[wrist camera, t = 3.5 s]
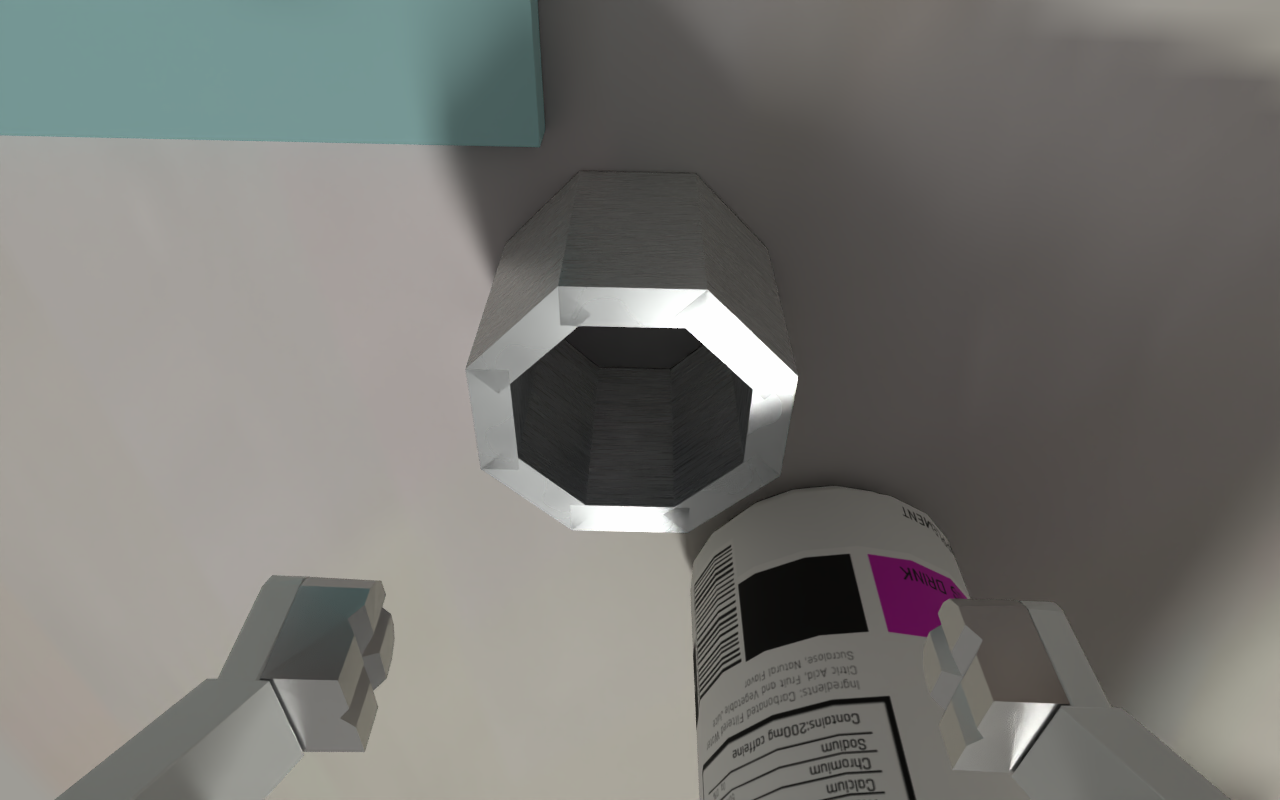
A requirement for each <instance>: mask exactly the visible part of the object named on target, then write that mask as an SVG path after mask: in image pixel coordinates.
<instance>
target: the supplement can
mask: <svg viewBox="0 0 1280 800" xmlns="http://www.w3.org/2000/svg"><path fill="white" fill-rule="evenodd" d="M690 591H691V614H692V637H693V660H694V683H695V706H696V729H697V752H698V775H699V798H700V800H1031V799H1030V798H1029V796H1028V795H1027V794H1026V793H1025V792H1024V790H1023V789H1022V788H1021V787H1020V786H1019V785H1018V783H1017V782H1016V781H1015V780H1014V779H1013V778H1012V775H1013V773H999V772H982V771H965V770H952V767H951V764H950V760H949V757H948V754H947V751H946V747H945V744H944V741H943V738H942V734H941V731H940V728H939V722H940V720H941V718H942V716H943V713H944V711H945V710H944V709H943V708H942V707H941V706H940V705H939V704H938V703H937V702H936V701H935V700H934V699H933V698H932V697H931V696H930V695H929V691H928V688H927V684H926V681H925V676H924V669H923V652H924V644H925V642H926V639H927V637H928V634H929V632H930V631H932V630H933V629H935V628H936V627H938V626H940V625H941V621H940V618H939V615H938V612H939V610H940V608H941V606H942V604H943V602H945V601H946V600H948V599H970V596H969V593H968V591H967V588H966V586H965V583H964V580H963V578H962V575H961V573H960V570H959V567H958V565H957V562H956V560H955V557H954V554H953V552H952V549H951V547H950V544H949V541H948V539H947V538H946V537H945V536H944V534H943V533H942V532H941V531H940V530H939V528H938V527H937V526H936V525H935V523H934V522H933V521H932V520H931V519H930V517H929V516H928V515H927V514H926V513H924V512H922V511H920V510H918V509H916V508H914V507H912V506H910V505H908V504H906V503H904V502H902V501H900V500H898V499H896V498H894V497H892V496H888V495H882V494H877V493H875V492H872V491H866V490H859V489H853V488H847V487H840V486H826V487H815V488H804V489H794V490H791V491H788V492H785V493H782V494H779V495H776V496H774V497H771V498H768V499H765V500H762V501H759V502H757V503H755V504H753V505H752V506H750V507H749V508H748V509H746V510H745V511H743V512H742V513H740V514H739V515H738V516H736V517H735V518H733V519H732V520H731V521H729V522H728V523H726V524H725V525H724V526H722V527H721V528H719V529H718V530H716V531H715V532H714V533H712V535H711V536H710V538H709V539H708V541H707V542H706V544H705V545H704V547H703V548H702V550H701V551H700V553H699V554H698V556H697V557H696V559H695V560H694V562H693V571H692V580H691V590H690Z"/></svg>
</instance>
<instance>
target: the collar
mask: <svg viewBox="0 0 1280 800" xmlns="http://www.w3.org/2000/svg"><path fill="white" fill-rule="evenodd" d="M578 326H606V327H650V328H686V329H687V330H688V331H689V332H690V333H691V334H693V335H694V336H695V337H696V338H697V339H698V340H699V341H700V342H701V343H702V344H704V345H702V346H701V347H700V348H698V349H697V350H696V351H694V352H693V353H692V354H690V355H689V356H688V357H686V358H685V359H684V360H682V361H681V362H680V363H678V364H677V365H676V366H674V367H673V368H672V369H641V368H599V367H598V366H596V365H595V364H594V363H593V362H591V361H590V360H589V359H588V358H587V357H585V356H584V355H583V354H582V353H580V352H579V351H578V350H577V349H576V348H574V347H573V346H572V345H571V344H569V343H568V342H567V341H566V340H565V339H564V338H565V337H566V336H567V335H569V334H570V333H571V332H572V331H573V330H575V329H576V328H577V327H578ZM465 370H466V377H467V383H468V390H469V396H470V403H471V409H472V416H473V422H474V429H475V435H476V442H477V448H478V455H479V461H480V468H481V469H482V470H483V471H485V472H486V473H488V474H489V475H490V476H492V477H493V478H495V479H496V480H498V481H499V482H501V483H502V484H504V485H505V486H507V487H508V488H510V489H511V490H513V491H514V492H516V493H517V494H519V495H520V496H522V497H523V498H525V499H526V500H528V501H529V502H531V503H532V504H534V505H535V506H537V507H538V508H540V509H541V510H543V511H544V512H546V513H547V514H548V515H550V516H551V517H553V518H554V519H556V520H557V521H559V522H560V523H562V524H563V525H565V526H566V527H568V528H569V529H571V530H586V531H630V532H673V533H688V532H690V531H691V530H693V529H695V528H696V527H698V526H700V525H701V524H703V523H704V522H706V521H708V520H709V519H711V518H713V517H714V516H716V515H717V514H719V513H721V512H722V511H724V510H726V509H727V508H729V507H730V506H732V505H734V504H735V503H737V502H738V501H740V500H742V499H743V498H745V497H747V496H748V495H750V494H751V493H753V492H755V491H756V490H758V489H760V488H761V487H763V486H764V485H766V484H768V483H769V482H771V481H773V480H774V479H776V478H777V477H779V476H780V475H781V469H782V464H783V458H784V452H785V447H786V441H787V436H788V430H789V425H790V419H791V414H792V408H793V403H794V397H795V391H796V386H797V380H798V374H797V370H796V365H795V361H794V357H793V353H792V349H791V344H790V340H789V336H788V332H787V328H786V323H785V319H784V315H783V311H782V307H781V302H780V298H779V294H778V290H777V286H776V281H775V277H774V273H773V269H772V265H771V260H770V256H769V252H768V249H767V248H766V247H765V246H764V245H763V244H762V243H761V242H760V240H759V239H758V238H757V237H756V236H755V235H754V234H753V233H752V232H751V231H750V230H749V229H748V228H747V227H746V226H745V225H744V224H743V223H742V222H741V221H740V219H739V218H738V217H737V216H736V215H735V214H734V213H733V212H732V211H731V210H730V209H729V208H728V207H727V206H726V205H725V204H724V203H723V202H722V201H721V200H720V199H719V197H718V196H717V195H716V194H715V193H714V192H713V191H712V190H711V189H710V188H709V187H708V186H707V185H706V184H705V183H704V182H703V181H702V180H701V179H700V178H699V176H698V175H697V174H693V173H647V172H602V171H579V172H578V173H577V174H576V175H575V176H574V177H573V178H572V179H571V180H570V181H569V182H568V183H567V184H566V185H565V186H564V187H563V188H562V189H561V190H560V191H559V192H558V193H557V194H556V195H555V196H554V197H553V198H552V199H551V200H550V201H549V202H548V203H547V204H546V205H545V206H544V207H542V208H541V209H540V210H539V211H538V212H537V213H536V214H535V215H534V216H533V217H532V218H531V219H530V220H529V221H528V222H527V223H526V224H525V225H524V226H523V227H522V228H521V229H520V230H519V231H518V232H517V233H516V234H515V235H514V236H513V237H512V238H511V239H510V240H509V241H508V242H507V243H506V244H505V247H504V250H503V253H502V256H501V259H500V262H499V266H498V269H497V272H496V275H495V278H494V281H493V284H492V287H491V291H490V294H489V297H488V300H487V303H486V306H485V309H484V312H483V316H482V319H481V322H480V325H479V328H478V331H477V334H476V337H475V340H474V344H473V347H472V350H471V353H470V356H469V359H468V362H467V365H466V369H465Z"/></svg>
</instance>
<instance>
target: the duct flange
mask: <svg viewBox="0 0 1280 800" xmlns="http://www.w3.org/2000/svg"><path fill="white" fill-rule="evenodd" d="M544 132H545V117H544V100H543V83H542V67H541V50H540V33H539V16H538V0H0V135H10V136H56V137H101V138H146V139H191V140H237V141H282V142H327V143H372V144H418V145H463V146H508V147H540V145H541V142H542V139H543V136H544Z"/></svg>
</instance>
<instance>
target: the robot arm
mask: <svg viewBox="0 0 1280 800" xmlns="http://www.w3.org/2000/svg"><path fill="white" fill-rule="evenodd" d="M385 596H386V594H385V591H384V588H383V584H382V581H376V580H358V579H339V578H320V577H304V576H277V575H272V576H271V577H270V578H269V579H268V581H267V582H266V583H265V584H264V585H263V586H262V588H261V590H260V592H259V594H258V596H257V598H256V600H255V602H254V604H253V607H252V609H251V611H250V613H249V615H248V617H247V619H246V621H245V623H244V625H243V627H242V629H241V631H240V633H239V635H238V638H237V640H236V642H235V644H234V646H233V648H232V650H231V652H230V654H229V656H228V658H227V660H226V662H225V664H224V666H223V668H222V671H221V673H220V675H219V677H218V679H206V680H205V681H203V682H202V683H201V684H199V685H198V686H197V687H196V688H194V689H193V690H192V691H191V692H189V693H188V694H187V695H186V696H184V697H183V698H182V699H181V700H179V701H178V702H177V703H176V704H174V705H173V706H172V707H171V708H169V709H168V710H167V711H166V712H164V713H163V714H162V715H160V716H159V717H158V718H157V719H155V720H154V721H153V722H152V723H150V724H149V725H148V726H147V727H145V728H144V729H143V730H142V731H140V732H139V733H138V734H137V735H135V736H134V737H133V738H132V739H130V740H129V741H128V742H127V743H125V744H124V745H123V746H122V747H120V748H119V749H118V750H116V751H115V752H114V753H113V754H111V755H110V756H109V757H108V758H106V759H105V760H104V761H103V762H101V763H100V764H99V765H98V766H96V767H95V768H94V769H93V770H91V771H90V772H89V773H88V774H86V775H85V776H84V777H83V778H81V779H80V780H79V781H77V782H76V783H75V784H74V785H72V786H71V787H70V788H69V789H67V790H66V791H65V792H64V793H62V794H61V795H60V796H59V797H57V798H56V799H55V800H264V799H265V798H266V797H267V796H268V795H269V794H270V793H271V792H272V790H273V789H274V788H275V787H276V786H277V785H278V784H279V783H280V782H281V780H282V779H283V778H284V777H285V776H286V775H287V774H288V773H289V772H290V771H291V769H292V768H293V767H294V766H295V765H296V764H297V763H298V762H299V761H300V759H301V758H302V757H303V756H304V753H303V752H365V750H366V746H367V743H368V740H369V736H370V733H371V730H372V726H373V723H374V720H375V716H376V713H377V710H378V705H377V702H376V698H375V695H374V692H373V690H374V689H376V688H377V687H378V686H379V685H380V684H381V683H382V682H383V681H384V680H385V679H386V678H387V675H388V672H389V668H390V664H391V661H392V655H393V647H394V639H395V638H394V624H393V620H392V616H391V614H390V613H389V612H388V611H386V610H385V609H384V608H382V606H383V603H384V600H385ZM938 615H939V618H940V621H941V625H940V626H938V627H936V628H935V629H933V630H932V631H930V632H929V634H928V637H927V639H926V642H925V644H924V652H923V669H924V676H925V681H926V684H927V688H928V691H929V695H930V696H931V697H932V698H933V699H934V700H935V701H936V702H937V703H938V704H939V705H940V706H941V707H942V708H943V709H944V710H945V711H944V713H943V716H942V718H941V720H940V722H939V728H940V731H941V734H942V738H943V741H944V744H945V747H946V751H947V754H948V757H949V760H950V764H951V767H952V770H965V771H982V772H999V773H1013V775H1012V778H1013V779H1014V780H1015V781H1016V782H1017V783H1018V785H1019V786H1020V787H1021V788H1022V789H1023V790H1024V792H1025V793H1026V794H1027V795H1028V796H1029V798H1030V799H1031V800H1231V799H1229V798H1228V797H1227V796H1226V795H1225V794H1223V793H1222V792H1221V791H1220V790H1219V789H1218V788H1216V787H1215V786H1214V785H1213V784H1212V783H1210V782H1209V781H1208V780H1207V779H1206V778H1204V777H1203V776H1202V775H1201V774H1200V773H1199V772H1197V771H1196V770H1195V769H1194V768H1193V767H1191V766H1190V765H1189V764H1188V763H1187V762H1185V761H1184V760H1183V759H1182V758H1181V757H1180V756H1178V755H1177V754H1176V753H1175V752H1174V751H1172V750H1171V749H1170V748H1169V747H1168V746H1166V745H1165V744H1164V743H1163V742H1162V741H1161V740H1159V739H1158V738H1157V737H1156V736H1155V735H1153V734H1152V733H1151V732H1150V731H1149V730H1147V729H1146V728H1145V727H1144V726H1143V725H1142V724H1140V723H1139V722H1138V721H1137V720H1136V719H1134V718H1133V717H1132V716H1131V715H1130V714H1128V713H1127V712H1126V711H1125V710H1124V709H1123V708H1117V707H1111V706H1110V704H1109V702H1108V700H1107V698H1106V696H1105V694H1104V692H1103V690H1102V688H1101V686H1100V684H1099V682H1098V680H1097V678H1096V676H1095V674H1094V672H1093V670H1092V668H1091V666H1090V664H1089V662H1088V660H1087V658H1086V656H1085V654H1084V652H1083V650H1082V648H1081V646H1080V644H1079V642H1078V640H1077V638H1076V636H1075V634H1074V632H1073V630H1072V628H1071V626H1070V624H1069V622H1068V620H1067V618H1066V616H1065V614H1064V612H1063V610H1062V609H1061V608H1060V607H1059V606H1058V605H1057V604H1056V603H1055V602H1048V601H1016V600H1004V599H948V600H946V601H945V602H943V604H942V606H941V608H940V610H939V612H938Z"/></svg>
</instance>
